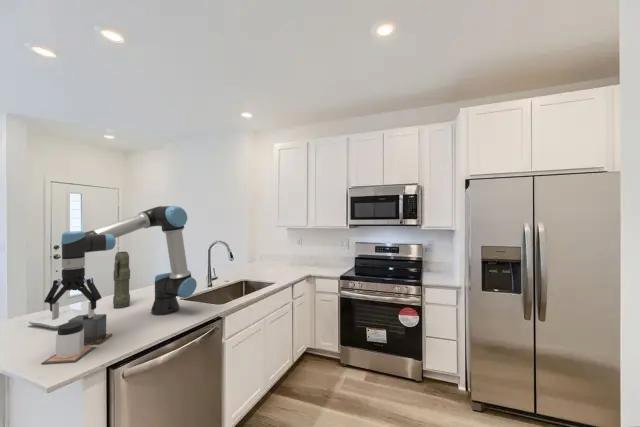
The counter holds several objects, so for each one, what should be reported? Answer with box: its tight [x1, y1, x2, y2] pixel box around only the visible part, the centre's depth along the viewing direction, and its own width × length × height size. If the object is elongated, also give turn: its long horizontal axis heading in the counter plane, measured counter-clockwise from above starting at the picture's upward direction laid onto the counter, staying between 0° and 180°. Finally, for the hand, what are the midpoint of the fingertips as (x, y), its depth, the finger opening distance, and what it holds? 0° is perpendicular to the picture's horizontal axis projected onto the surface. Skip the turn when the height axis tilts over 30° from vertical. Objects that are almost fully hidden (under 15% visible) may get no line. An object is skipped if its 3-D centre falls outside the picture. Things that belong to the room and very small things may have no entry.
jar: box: [55, 322, 85, 359], centre depth 122 cm, size 9×8×12 cm
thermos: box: [112, 251, 131, 310], centre depth 188 cm, size 9×12×35 cm
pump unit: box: [68, 313, 113, 346], centre depth 137 cm, size 16×10×12 cm, turn 98°
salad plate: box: [28, 308, 97, 330], centre depth 160 cm, size 21×21×3 cm
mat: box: [41, 345, 96, 366], centre depth 122 cm, size 12×13×1 cm
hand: (73, 317), depth 124 cm, fingers open, 13 cm apart
